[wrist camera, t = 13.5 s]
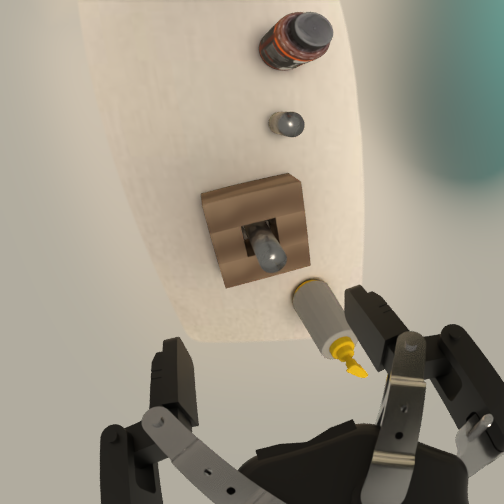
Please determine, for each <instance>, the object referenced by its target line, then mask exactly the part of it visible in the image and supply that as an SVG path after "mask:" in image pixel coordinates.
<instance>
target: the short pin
mask: <svg viewBox="0 0 504 504" xmlns="http://www.w3.org/2000/svg"><path fill="white" fill-rule="evenodd" d="M269 127H270V129H271V130H272V131H273V132H274V133H276V134H280V135H284V136H288V137H296V136H298V135H300V134H301V133H302V131H303V130H304V120H303V118H302V117H301V116H300V115H299V114H298V113H295V112H277V113H274V114H273V115H272V116H271V117H270V119H269Z"/></svg>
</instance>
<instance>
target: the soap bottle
mask: <svg viewBox="0 0 504 504" xmlns="http://www.w3.org/2000/svg"><path fill="white" fill-rule="evenodd" d="M293 306H294V309H295V310H296V312H297V314H298V315H299V317H300V319H301V320H302V322H303V324H304V325H305V327H306V329H307V330H308V332H309V334H310V335H311V337H312V339H313V340H314V342H315V344H316V345H317V347H318V349H319V351H320V352H321V354H322V355H323V356H324V357H325V358H327V359H339V360H340V361H341V362H346V366H347V368H348V369H347V370H346V371H347V372H348V373H351V374H353V375H355V376H358V377H361V378H365V377H367V376H368V374H367V373H366V371H365V370H364V369H363V368H362V367H361V365H359V364H358V363H357V362H356V361H355V360H354V359H352V357H353V355H354V351H353V350H354V347H355V346H356V344H357V342H358V339H357V338H356V336H355V334H354V333H353V331H352V330H351V328H350V326H349V325H348V323H347V321H346V318H345V313H344V310H343V309H342V307H341V305H340V304H339V302H338V300H337V299H336V297H335V295H334V294H333V292H332V290H331V289H330V287H329V286H328V284H327V283H325V282H323V281H318V280H309V281H306V282H304V283H302V284H301V285H299V287H298V288H297V289H296V291H295V294H294V298H293Z"/></svg>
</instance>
